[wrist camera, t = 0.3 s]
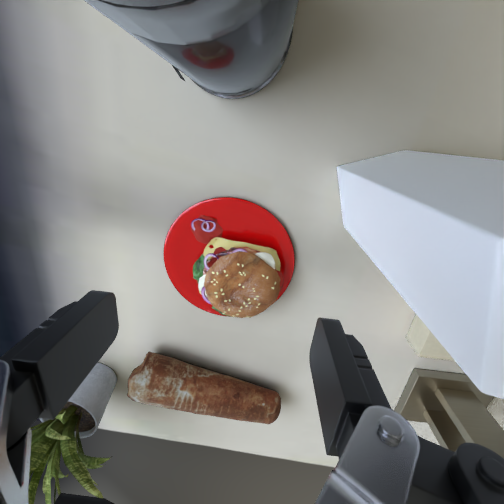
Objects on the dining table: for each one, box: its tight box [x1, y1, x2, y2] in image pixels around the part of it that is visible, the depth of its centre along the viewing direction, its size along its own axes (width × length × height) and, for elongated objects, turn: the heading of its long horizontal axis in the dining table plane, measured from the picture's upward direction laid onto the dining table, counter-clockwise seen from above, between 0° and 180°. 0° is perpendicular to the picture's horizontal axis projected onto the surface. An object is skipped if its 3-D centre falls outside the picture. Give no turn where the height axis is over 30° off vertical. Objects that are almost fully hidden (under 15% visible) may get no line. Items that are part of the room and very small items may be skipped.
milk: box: [337, 150, 504, 399], centre depth 15 cm, size 6×6×22 cm
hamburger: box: [164, 197, 294, 318], centre depth 26 cm, size 14×14×6 cm
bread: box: [127, 352, 281, 424], centre depth 33 cm, size 6×19×6 cm, turn 69°
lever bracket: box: [394, 369, 504, 458], centre depth 29 cm, size 10×8×13 cm
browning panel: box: [406, 314, 455, 361], centre depth 28 cm, size 10×9×3 cm
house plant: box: [28, 362, 117, 504], centre depth 30 cm, size 14×14×16 cm
